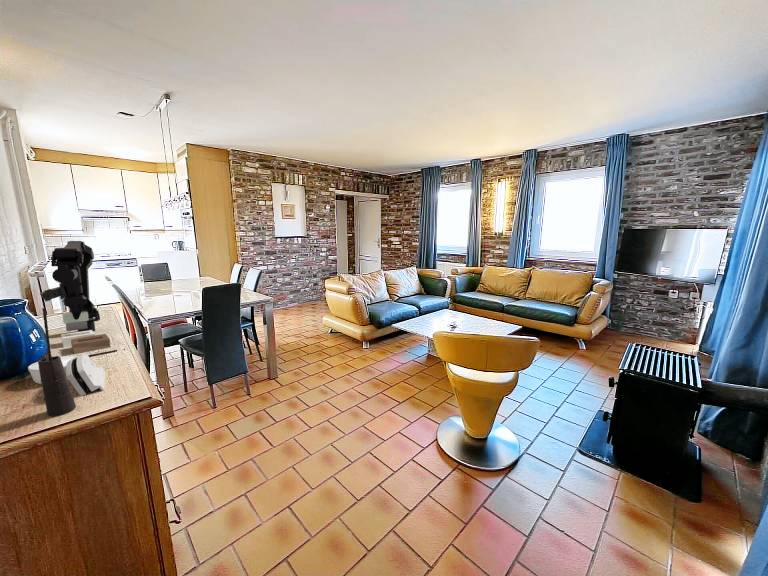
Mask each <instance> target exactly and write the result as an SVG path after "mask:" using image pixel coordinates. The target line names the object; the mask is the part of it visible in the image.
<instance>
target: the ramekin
mask: <svg viewBox="0 0 768 576" xmlns="http://www.w3.org/2000/svg"><path fill="white" fill-rule="evenodd" d="M59 357H60V358H61V361H62V364H63V368H64V371H65V374H66V365H67V362H68V361H70V360H71V359H73V358H78V356H76V355H65V356H59ZM27 370H28V372H29V373H30V375H31V379H32V380H33V382H35V383H36V384H39V385H42V383H41V377H40V372H39V365H38V361H36V362H34V363H31V364H30V365H29V366H27ZM66 376H67V374H66ZM67 380H69V379H68V377H67Z"/></svg>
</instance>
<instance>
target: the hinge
mask: <svg viewBox="0 0 768 576" xmlns="http://www.w3.org/2000/svg"><path fill="white" fill-rule="evenodd" d="M88 355H89V354H87V353H86V354H85V353H84V354H81V355H78V356H77V357H78V358H73V359H71V360H70V361H68V362H67V365H66V374H67V377H68V379H67V380H68V381H69V382H70V383H71V384H72V387H74V389H75V391H76V392H77V393H78V395H79V396H80V397H83V396H86V395H87V393H88V391H89V392H94V391H95V390H98V389H99V390H100V391H101V392H105V387H106V385H105V384H106V374H107V372H106V371H105V369H104V367H101V366H100V367H98V366H97V365H96V364H95V363H94V362H93V360H92V358H91V357H89V356H88Z"/></svg>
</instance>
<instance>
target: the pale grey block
mask: <svg viewBox="0 0 768 576" xmlns="http://www.w3.org/2000/svg"><path fill="white" fill-rule="evenodd" d="M61 316H62V321H63V324H65V329H66V330H65V331H66V332H72V331H78V330H80V329H87V328H88V326H87V321H88V320H89V318H88V312H87V310H86V311H82V312H81V314H80V317H79V319H77V320H75V319H74V317H73V315H72V312H61Z"/></svg>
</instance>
